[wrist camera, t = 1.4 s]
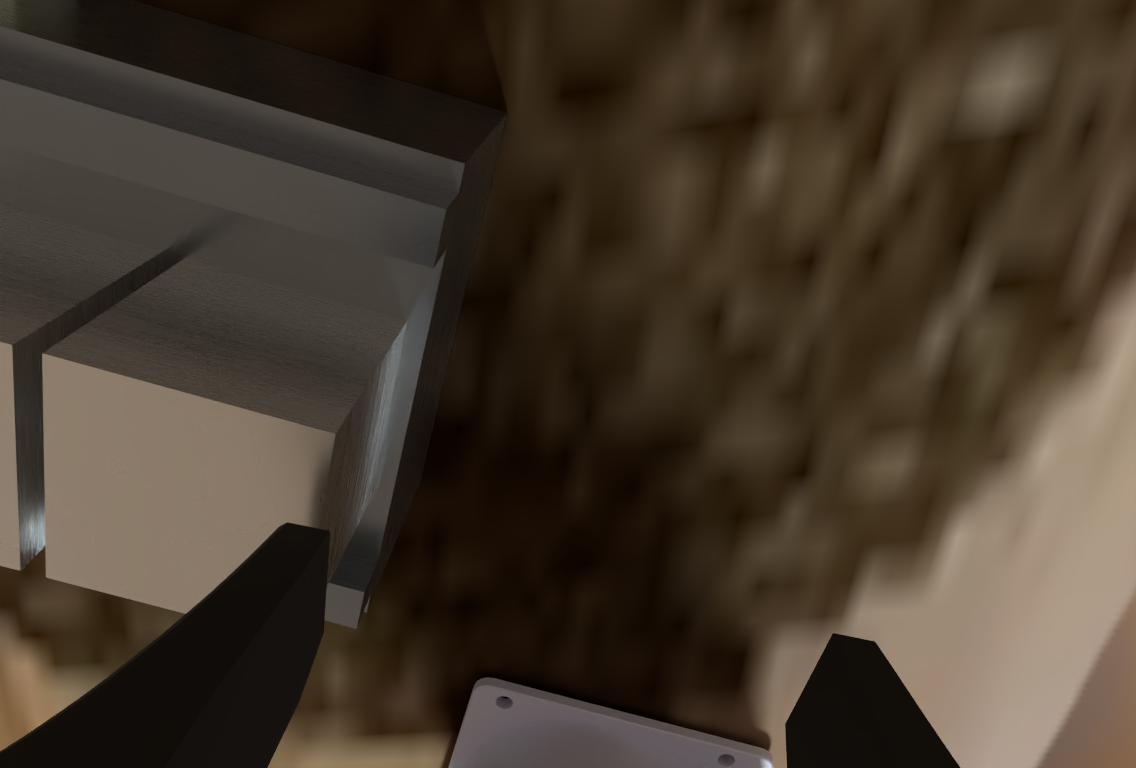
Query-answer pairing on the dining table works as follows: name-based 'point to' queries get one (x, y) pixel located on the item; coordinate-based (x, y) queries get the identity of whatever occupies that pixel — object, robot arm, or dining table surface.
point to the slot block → (260, 189)
